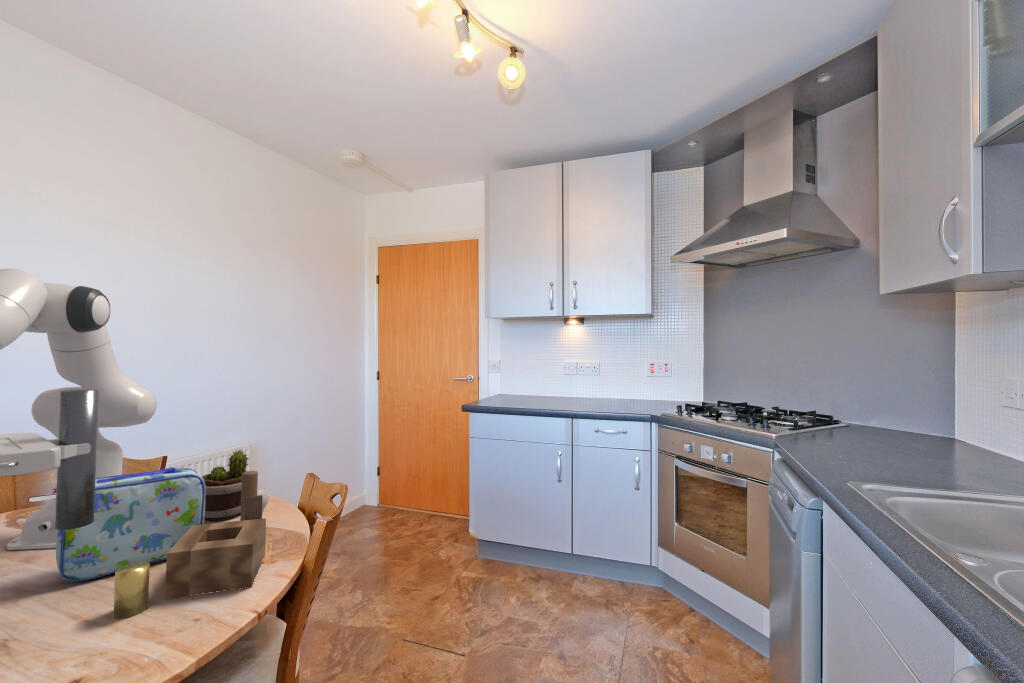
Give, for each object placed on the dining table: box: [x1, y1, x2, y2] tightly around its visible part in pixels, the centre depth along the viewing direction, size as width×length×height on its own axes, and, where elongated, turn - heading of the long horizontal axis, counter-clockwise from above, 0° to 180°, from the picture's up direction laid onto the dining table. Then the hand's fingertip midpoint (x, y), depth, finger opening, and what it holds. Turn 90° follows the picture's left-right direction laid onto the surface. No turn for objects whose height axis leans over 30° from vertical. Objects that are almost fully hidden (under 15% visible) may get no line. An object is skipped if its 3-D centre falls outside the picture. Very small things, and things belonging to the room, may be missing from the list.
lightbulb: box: [257, 488, 269, 515], centre depth 123 cm, size 6×6×11 cm
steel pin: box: [55, 389, 99, 530], centre depth 80 cm, size 5×5×24 cm
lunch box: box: [55, 466, 206, 582], centre depth 104 cm, size 26×11×21 cm, turn 137°
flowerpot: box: [201, 447, 250, 522], centre depth 134 cm, size 14×15×20 cm
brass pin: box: [113, 562, 151, 619], centre depth 84 cm, size 5×5×8 cm
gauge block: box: [164, 518, 267, 600], centre depth 98 cm, size 15×15×9 cm
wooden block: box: [239, 470, 263, 521], centre depth 112 cm, size 4×11×18 cm, turn 38°
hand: (84, 445), depth 81 cm, fingers closed on steel pin, 5 cm apart
